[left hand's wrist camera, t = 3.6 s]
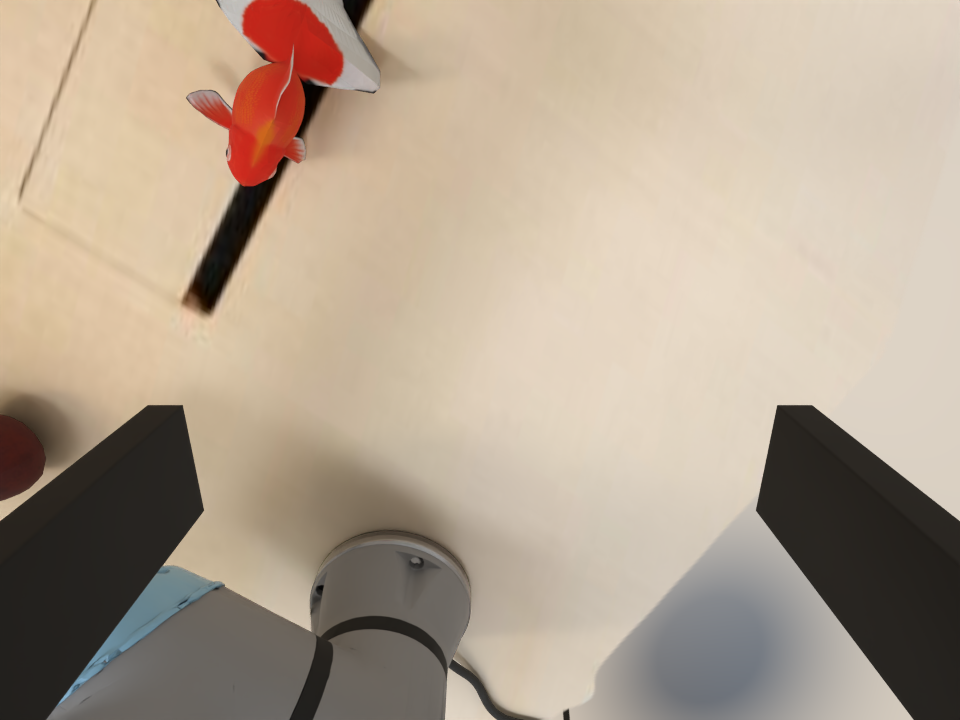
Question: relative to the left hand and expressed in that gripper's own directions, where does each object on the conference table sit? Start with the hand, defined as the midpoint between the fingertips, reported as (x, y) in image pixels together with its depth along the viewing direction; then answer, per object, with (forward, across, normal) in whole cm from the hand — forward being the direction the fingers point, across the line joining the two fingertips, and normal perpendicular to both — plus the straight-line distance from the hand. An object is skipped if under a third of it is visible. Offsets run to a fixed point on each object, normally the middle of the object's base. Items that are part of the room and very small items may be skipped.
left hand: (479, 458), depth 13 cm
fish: (+33, -12, +12) cm, 37 cm away
